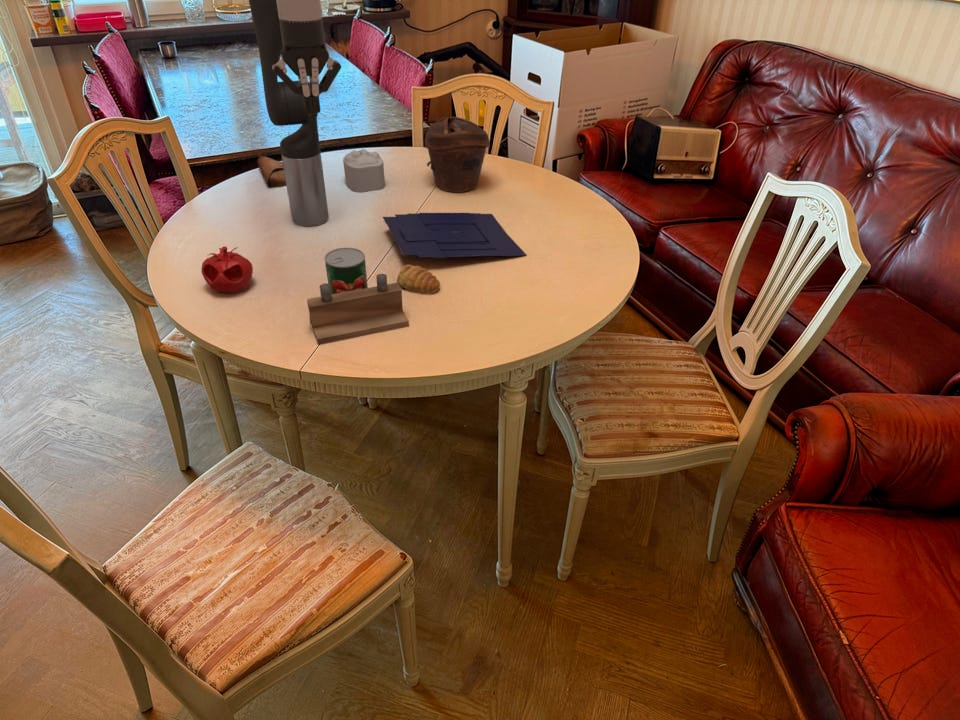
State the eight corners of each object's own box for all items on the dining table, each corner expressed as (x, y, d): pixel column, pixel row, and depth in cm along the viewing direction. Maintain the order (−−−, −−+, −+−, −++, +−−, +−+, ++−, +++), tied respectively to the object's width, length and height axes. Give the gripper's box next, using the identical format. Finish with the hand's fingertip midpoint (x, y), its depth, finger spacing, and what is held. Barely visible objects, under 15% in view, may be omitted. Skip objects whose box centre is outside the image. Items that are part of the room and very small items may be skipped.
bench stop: (310, 322, 123) (303, 282, 118) (397, 305, 129) (395, 267, 124) (318, 344, 118) (311, 304, 112) (409, 325, 123) (407, 286, 118)
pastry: (446, 286, 136) (446, 270, 134) (429, 300, 132) (428, 284, 129) (411, 274, 140) (410, 259, 138) (393, 287, 135) (392, 271, 133)
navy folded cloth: (380, 223, 156) (380, 210, 154) (489, 223, 167) (492, 210, 165) (403, 270, 138) (405, 255, 136) (525, 265, 149) (528, 252, 147)
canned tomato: (355, 289, 134) (350, 243, 127) (376, 304, 129) (373, 257, 122) (323, 302, 129) (316, 255, 122) (344, 318, 125) (338, 270, 118)
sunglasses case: (298, 184, 177) (283, 166, 172) (279, 199, 177) (263, 181, 172) (286, 162, 190) (271, 145, 185) (267, 176, 190) (252, 159, 185)
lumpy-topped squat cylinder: (353, 194, 173) (350, 163, 168) (340, 177, 182) (337, 147, 177) (388, 188, 177) (386, 158, 172) (374, 172, 186) (372, 143, 181)
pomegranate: (216, 273, 137) (206, 234, 131) (262, 275, 137) (253, 236, 131) (199, 297, 129) (188, 257, 124) (247, 299, 129) (237, 259, 123)
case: (447, 166, 191) (447, 106, 180) (501, 183, 183) (504, 121, 172) (409, 184, 180) (407, 120, 169) (464, 202, 171) (466, 137, 160)
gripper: (332, 10, 115) (342, 106, 126) (258, 12, 110) (275, 112, 121) (342, 17, 109) (351, 118, 120) (264, 20, 105) (281, 124, 116)
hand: (313, 115), depth 121 cm, fingers closed
